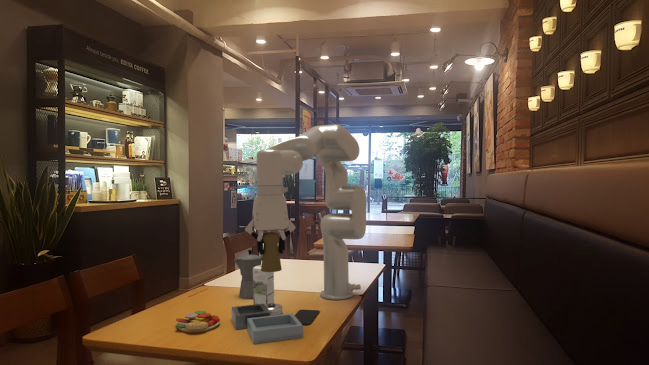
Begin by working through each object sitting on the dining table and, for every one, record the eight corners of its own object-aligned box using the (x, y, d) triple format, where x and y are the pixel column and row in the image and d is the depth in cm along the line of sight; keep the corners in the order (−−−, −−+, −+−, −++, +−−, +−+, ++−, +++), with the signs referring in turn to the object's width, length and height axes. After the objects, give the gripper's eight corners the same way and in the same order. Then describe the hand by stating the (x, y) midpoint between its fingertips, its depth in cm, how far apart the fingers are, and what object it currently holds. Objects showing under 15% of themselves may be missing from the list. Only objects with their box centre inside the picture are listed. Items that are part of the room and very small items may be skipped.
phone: (320, 310, 150) (310, 324, 135) (320, 312, 150) (310, 326, 135) (299, 309, 151) (286, 322, 137) (299, 311, 151) (286, 325, 137)
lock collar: (279, 310, 152) (279, 298, 152) (289, 323, 138) (289, 310, 138) (230, 315, 146) (230, 303, 146) (235, 329, 132) (235, 316, 132)
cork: (277, 272, 125) (277, 233, 125) (257, 271, 127) (257, 233, 127) (284, 268, 131) (283, 231, 131) (265, 267, 133) (264, 231, 133)
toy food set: (195, 337, 127) (195, 326, 127) (165, 330, 134) (165, 319, 134) (228, 324, 138) (228, 314, 138) (199, 318, 145) (199, 308, 145)
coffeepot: (236, 301, 164) (235, 252, 164) (231, 295, 173) (230, 249, 173) (276, 296, 170) (275, 249, 170) (269, 290, 179) (268, 246, 179)
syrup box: (274, 305, 157) (274, 265, 157) (267, 310, 152) (266, 268, 152) (260, 304, 159) (260, 264, 159) (252, 308, 154) (252, 267, 154)
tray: (292, 324, 136) (292, 313, 136) (302, 337, 125) (302, 325, 125) (247, 330, 132) (247, 318, 132) (253, 344, 120) (253, 331, 120)
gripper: (295, 191, 135) (296, 250, 135) (239, 192, 130) (240, 253, 130) (301, 191, 128) (302, 253, 128) (242, 192, 123) (243, 257, 123)
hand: (271, 253), depth 129 cm, fingers closed on cork, 5 cm apart
